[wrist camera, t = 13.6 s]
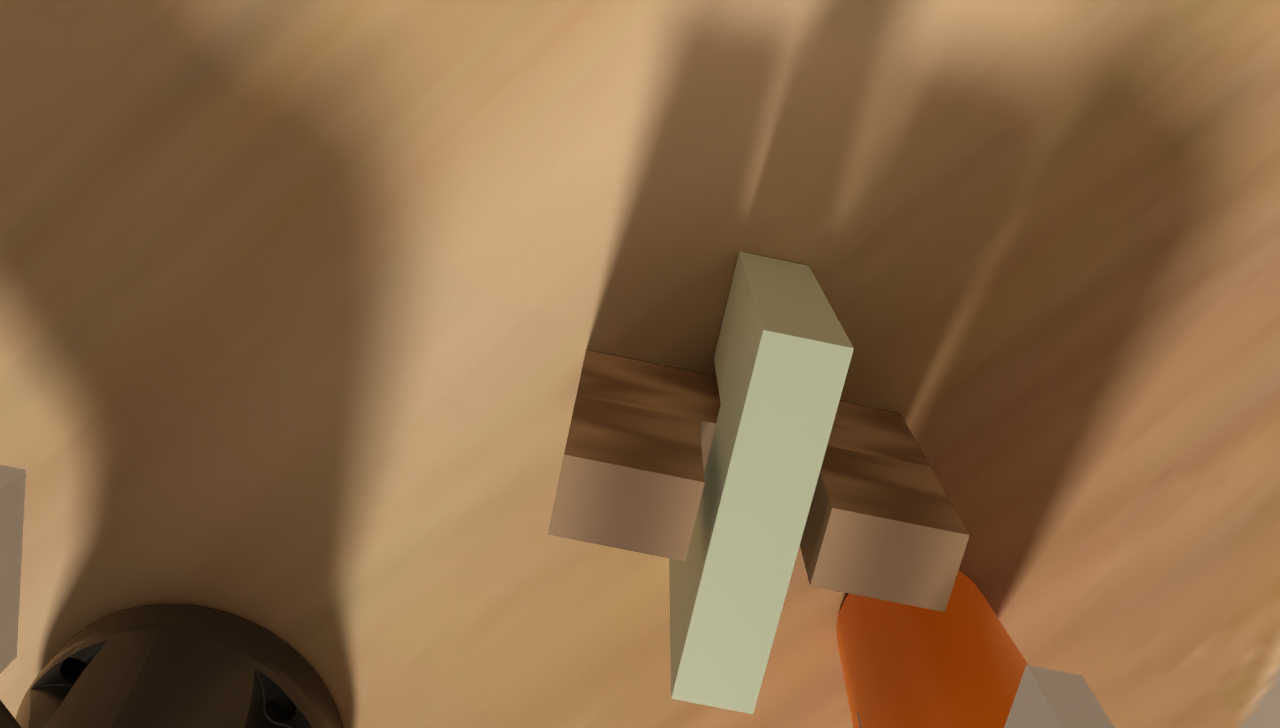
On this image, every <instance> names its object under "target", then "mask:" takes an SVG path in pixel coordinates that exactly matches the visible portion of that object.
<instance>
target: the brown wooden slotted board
mask: <svg viewBox="0 0 1280 728" xmlns="http://www.w3.org/2000/svg"><path fill="white" fill-rule="evenodd" d="M720 406H721V404H720V397H719V390H718V383H717V376H713V375H708V374H703V373H698V372H693V371H688V370H683V369H678V368H673V367H668V366H663V365H659V364H654V363H649V362H644V361H639V360H634V359H629V358H624V357H619V356H614V355H609V354H604V353H600V352H595V351H590V350H586V354H585V358H584V363H583V368H582V372H581V377H580V382H579V387H578V391H577V396H576V401H575V406H574V410H573V415H572V420H571V425H570V429H569V434H568V439H567V444H566V448H565V453H564V458H563V463H562V468H561V473H560V478H559V483H558V488H557V493H556V497H555V502H554V507H553V512H552V517H551V522H550V527H549V532H548V535H554V536H559V537H564V538H569V539H574V540H579V541H584V542H589V543H594V544H600V545H605V546H610V547H615V548H620V549H625V550H630V551H635V552H640V553H646V554H651V555H656V556H661V557H666V558H671V559H676V560H681V561H686V557H687V553H688V549H689V545H690V541H691V537H692V533H693V529H694V525H695V520H696V516H697V512H698V508H699V504H700V500H701V496H702V492H703V488H704V484H705V479H704V471H705V467H706V463H707V459H708V455H709V451H710V447H711V443H712V439H713V434H714V430H715V426H716V422H717V418H718V414H719V410H720ZM969 536H970V535H969V533H968V531H967V529H966V528H965V526H964V524H963V522H962V521H961V519H960V517H959V515H958V514H957V512H956V510H955V508H954V507H953V505H952V503H951V501H950V500H949V498H948V496H947V494H946V493H945V491H944V489H943V487H942V486H941V484H940V482H939V480H938V479H937V477H936V475H935V473H934V472H933V470H932V468H931V466H930V465H929V463H928V461H927V459H926V458H925V456H924V454H923V452H922V451H921V449H920V447H919V445H918V444H917V442H916V440H915V438H914V437H913V435H912V433H911V432H910V430H909V428H908V426H907V425H906V423H905V421H904V419H903V418H902V416H901V414H899V413H894V412H890V411H885V410H880V409H875V408H870V407H865V406H860V405H855V404H850V403H845V402H840V401H839V405H838V408H837V412H836V415H835V419H834V423H833V426H832V430H831V434H830V437H829V441H828V444H827V448H826V452H825V455H824V459H823V463H822V466H821V470H820V473H819V477H818V481H817V484H816V488H815V492H814V495H813V499H812V502H811V506H810V510H809V513H808V517H807V521H806V524H805V528H804V531H803V535H802V539H801V542H800V547H801V551H802V555H803V559H804V563H805V567H806V571H807V575H808V579H809V583H810V586H814V587H819V588H824V589H829V590H834V591H840V592H845V593H850V594H855V595H860V596H865V597H870V598H875V599H880V600H886V601H891V602H896V603H901V604H906V605H911V606H916V607H921V608H926V609H932V610H937V611H942V612H945V610H946V607H947V604H948V601H949V598H950V595H951V592H952V589H953V586H954V583H955V579H956V576H957V573H958V570H959V567H960V564H961V561H962V558H963V555H964V552H965V549H966V546H967V543H968V539H969Z"/></svg>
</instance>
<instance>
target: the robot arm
mask: <svg viewBox="0 0 1280 728" xmlns="http://www.w3.org/2000/svg"><path fill="white" fill-rule="evenodd" d="M25 477H26V470H23V469H18V468H13V467H8V466H3V465H0V673H1V672H2V671H3V670H4V669H5V668H6V667H7V666H8V665H9V664H10V663H11V662H12V661H13V660H14V659H15V658H16V657H17V637H18V617H19V597H20V577H21V557H22V537H23V517H24V497H25ZM0 728H343V726H342V722H341V719H340V716H339V713H338V710H337V708H336V705H335V703H334V701H333V699H332V697H331V695H330V693H329V691H328V690H327V688H326V687H325V685H324V683H323V682H322V680H321V679H320V678H319V676H318V675H317V674H316V672H315V671H314V670H313V669H312V668H311V666H310V665H309V664H308V663H307V662H306V661H305V660H304V659H303V658H302V657H301V656H300V655H299V654H298V653H297V652H296V651H294V650H293V649H292V648H291V647H290V646H288V645H287V644H286V643H285V642H283V641H282V640H280V639H279V638H278V637H276V636H275V635H273V634H272V633H270V632H268V631H267V630H265V629H263V628H261V627H259V626H257V625H255V624H253V623H252V622H249V621H247V620H245V619H242V618H240V617H237V616H234V615H232V614H229V613H225V612H222V611H219V610H215V609H210V608H206V607H200V606H193V605H183V604H158V605H148V606H141V607H136V608H131V609H128V610H124V611H121V612H118V613H115V614H112V615H109V616H107V617H105V618H102V619H100V620H98V621H97V622H95V623H93V624H91V625H90V626H88V627H86V628H85V629H83V630H82V631H81V632H79V633H78V634H77V635H75V636H74V637H73V638H72V639H71V640H70V641H69V642H67V643H66V645H65V646H64V647H63V648H62V649H61V650H60V651H59V652H58V653H57V654H56V655H55V657H54V658H53V659H52V660H51V661H50V662H49V663H48V664H47V665H46V666H45V668H44V669H43V670H42V671H41V672H40V673H39V675H38V676H37V677H36V678H35V680H34V681H33V683H32V685H31V686H30V688H29V689H28V691H27V693H26V694H25V696H24V698H23V700H22V702H21V705H20V707H19V710H18V712H17V715H16V719H15V718H14V717H13V716H12V714H11V713H10V712H9V711H8V709H7V708H6V707H5V705H4V704H3V703H2V702H1V700H0ZM1004 728H1114V726H1113V725H1112V723H1111V721H1110V720H1109V718H1108V716H1107V715H1106V713H1105V712H1104V710H1103V708H1102V707H1101V705H1100V704H1099V702H1098V700H1097V699H1096V697H1095V695H1094V694H1093V692H1092V691H1091V689H1090V687H1089V686H1088V684H1087V683H1086V681H1085V679H1084V678H1083V676H1081V675H1076V674H1071V673H1065V672H1060V671H1055V670H1050V669H1045V668H1040V667H1035V666H1029V665H1026V667H1025V670H1024V673H1023V676H1022V679H1021V681H1020V684H1019V687H1018V690H1017V693H1016V695H1015V698H1014V701H1013V704H1012V707H1011V710H1010V712H1009V715H1008V718H1007V721H1006V724H1005V726H1004Z"/></svg>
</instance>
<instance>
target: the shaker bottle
mask: <svg viewBox="0 0 1280 728" xmlns="http://www.w3.org/2000/svg"><path fill="white" fill-rule="evenodd" d="M836 628H837V642H838V648H839V653H840V658H841V664H842V669H843V675H844V680H845V685H846V691H847V696H848V702H849V707H850V712H851V718H852V723H853V728H1004V726H1005V724H1006V721H1007V718H1008V715H1009V712H1010V710H1011V707H1012V704H1013V701H1014V698H1015V695H1016V693H1017V690H1018V687H1019V684H1020V681H1021V679H1022V676H1023V673H1024V670H1025V667H1026V665H1028V664H1027V662H1026V661H1025V659H1024V658H1023V656H1022V654H1021V653H1020V651H1019V650H1018V648H1017V647H1016V645H1015V644H1014V642H1013V641H1012V639H1011V637H1010V636H1009V634H1008V633H1007V631H1006V630H1005V628H1004V627H1003V625H1002V624H1001V622H1000V621H999V619H998V617H997V616H996V614H995V613H994V611H993V610H992V608H991V607H990V605H989V604H988V602H987V600H986V599H985V597H984V596H983V594H982V593H981V591H980V590H979V589H978V587H977V586H976V585H975V584H974V583H973V581H972V580H971V579H969V578H968V577H967V576H966V575H964V574H963V573H962V572H961V571H959V570H958V573H957V576H956V579H955V583H954V586H953V589H952V592H951V595H950V598H949V601H948V604H947V607H946V610H945V612H942V611H937V610H932V609H926V608H921V607H916V606H911V605H906V604H901V603H896V602H891V601H886V600H880V599H875V598H870V597H865V596H860V595H855V594H850V593H849V594H848V595H847V597H846V598H845V600H844V602H843V605H842V607H841V609H840V612H839V615H838V621H837V627H836Z"/></svg>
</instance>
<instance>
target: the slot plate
mask: <svg viewBox="0 0 1280 728" xmlns="http://www.w3.org/2000/svg"><path fill="white" fill-rule="evenodd" d="M853 350H854V348H853V346H852V344H851V342H850V340H849V338H848V337H847V335H846V333H845V331H844V329H843V327H842V326H841V324H840V322H839V320H838V318H837V316H836V315H835V313H834V311H833V309H832V307H831V306H830V304H829V302H828V300H827V298H826V296H825V295H824V293H823V291H822V289H821V287H820V285H819V284H818V282H817V280H816V278H815V276H814V274H813V273H812V271H811V269H810V267H809V266H807V265H802V264H798V263H793V262H788V261H783V260H778V259H774V258H769V257H764V256H759V255H754V254H750V253H745V252H740V251H739V255H738V259H737V263H736V267H735V271H734V276H733V280H732V284H731V288H730V292H729V297H728V301H727V305H726V309H725V314H724V318H723V322H722V326H721V330H720V335H719V339H718V343H717V347H716V351H715V356H714V362H715V369H716V376H717V383H718V390H719V397H720V404H721V406H720V410H719V414H718V418H717V422H716V426H715V430H714V434H713V439H712V443H711V447H710V451H709V455H708V459H707V463H706V467H705V471H704V479H705V484H704V488H703V492H702V496H701V500H700V504H699V508H698V512H697V516H696V520H695V525H694V529H693V533H692V537H691V541H690V545H689V549H688V553H687V557H686V561H681V560H676V559H671V558H669V577H670V646H671V699H676V700H681V701H686V702H692V703H697V704H702V705H708V706H713V707H718V708H723V709H729V710H734V711H739V712H744V713H750V714H753V713H754V709H755V705H756V702H757V698H758V695H759V691H760V687H761V684H762V680H763V676H764V673H765V669H766V666H767V662H768V658H769V655H770V651H771V647H772V644H773V640H774V637H775V633H776V629H777V626H778V622H779V618H780V615H781V611H782V608H783V604H784V600H785V597H786V593H787V589H788V586H789V582H790V579H791V575H792V571H793V568H794V564H795V560H796V557H797V553H798V550H799V546H800V542H801V539H802V535H803V531H804V528H805V524H806V521H807V517H808V513H809V510H810V506H811V502H812V499H813V495H814V492H815V488H816V484H817V481H818V477H819V473H820V470H821V466H822V463H823V459H824V455H825V452H826V448H827V444H828V441H829V437H830V434H831V430H832V426H833V423H834V419H835V415H836V412H837V408H838V405H839V401H840V397H841V394H842V390H843V386H844V383H845V379H846V376H847V372H848V368H849V365H850V361H851V357H852V354H853Z"/></svg>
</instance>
